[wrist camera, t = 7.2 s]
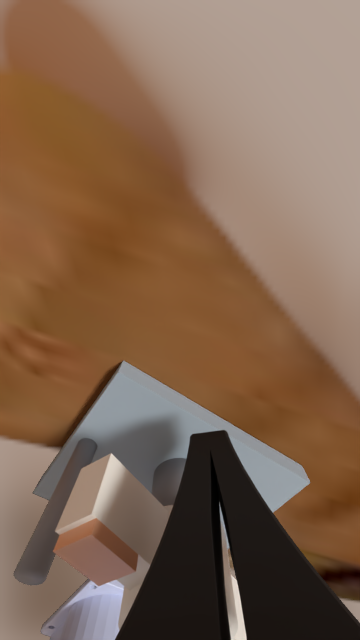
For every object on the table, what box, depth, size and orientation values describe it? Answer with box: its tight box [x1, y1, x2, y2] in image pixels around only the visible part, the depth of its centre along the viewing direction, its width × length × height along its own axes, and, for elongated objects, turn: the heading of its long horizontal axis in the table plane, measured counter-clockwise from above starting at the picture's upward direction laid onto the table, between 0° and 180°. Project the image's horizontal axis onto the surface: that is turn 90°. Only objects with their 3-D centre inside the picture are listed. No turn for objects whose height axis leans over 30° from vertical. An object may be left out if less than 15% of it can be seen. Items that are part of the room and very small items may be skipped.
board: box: [14, 361, 310, 585], centre depth 12 cm, size 10×12×6 cm
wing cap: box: [53, 453, 247, 640], centre depth 9 cm, size 11×4×3 cm, turn 33°
